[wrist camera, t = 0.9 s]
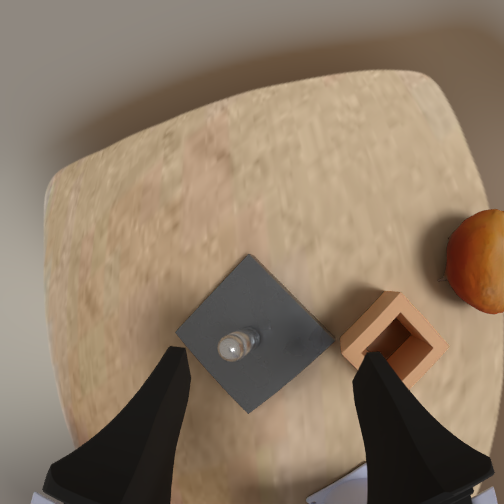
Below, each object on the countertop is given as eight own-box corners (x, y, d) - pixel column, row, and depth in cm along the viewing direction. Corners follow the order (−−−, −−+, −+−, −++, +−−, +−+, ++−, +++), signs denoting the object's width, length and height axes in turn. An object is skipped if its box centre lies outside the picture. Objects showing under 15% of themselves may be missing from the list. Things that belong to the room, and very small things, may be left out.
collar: (424, 333, 20) (449, 346, 15) (380, 378, 21) (392, 404, 15) (384, 290, 22) (400, 291, 16) (339, 337, 22) (341, 353, 17)
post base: (334, 337, 23) (334, 355, 16) (253, 407, 24) (228, 439, 17) (253, 255, 25) (227, 245, 19) (183, 330, 26) (142, 339, 20)
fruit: (422, 206, 20) (501, 189, 13) (469, 227, 22) (533, 219, 14) (414, 305, 20) (496, 316, 12) (462, 309, 22) (528, 317, 14)
